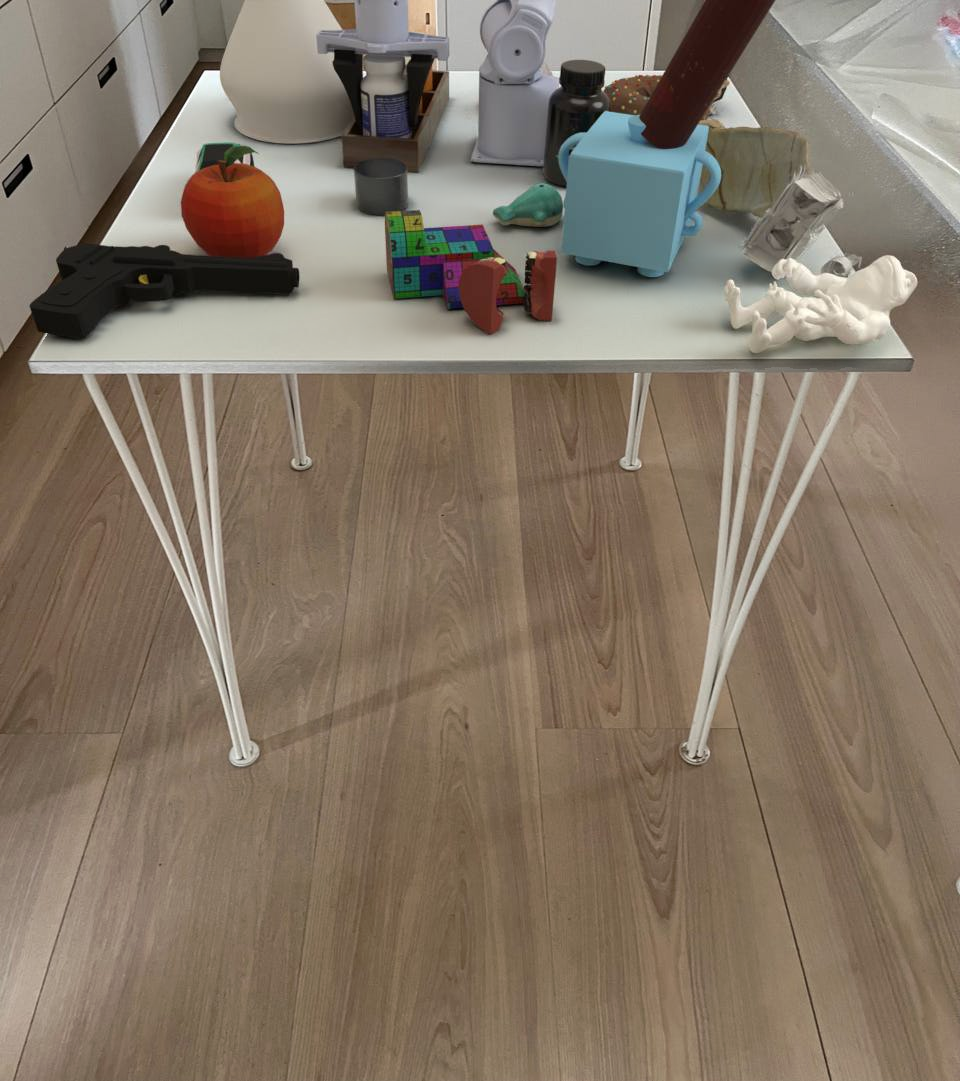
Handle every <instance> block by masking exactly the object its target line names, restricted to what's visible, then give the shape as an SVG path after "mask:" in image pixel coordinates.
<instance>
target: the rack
mask: <svg viewBox="0 0 960 1081" xmlns="http://www.w3.org/2000/svg"><path fill="white" fill-rule="evenodd" d="M432 88H433V91H423V93H422V114H421V113H419V114H418V122H417V124H416V127H412V139H411V138H395V137H380V136H364V135H363V122H362V124H358V123H356V121H355V116H354V117H353V118H352V120H351V121H350V123H349V125H348V126H347V128H346V129H345V131H344V133H343V134H342V135H341V136H340V137H341V147H342V148H341V150H342V160H343V168H347V169H348V168H350V169H354V167H355V165H356V164H358V163H359V162H361V161H364V160H368V159H373V158H389V159H395V160H398V161H401V162H403V163H404V164H405V165H406V166H407V173H409V172H410V173H419V172H420V170H421V167H422V164H423V162H424V160H425V158H426V155H427V153H428V150H429V148H430V146H431V143H432V142H433V139H434V137H435V134H436V132H437V129H438V127H439V125H440V122H441V120H442V117H443V115H444V113H445V111H446V108H447V106H448V103H449V102H450V71H449V70H446V71H445V70H433V69H432Z"/></svg>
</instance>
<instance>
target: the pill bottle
mask: <svg viewBox="0 0 960 1081" xmlns="http://www.w3.org/2000/svg"><path fill="white" fill-rule="evenodd" d="M405 68H406V66H405V57H403V56H386V55H368V54H364V55H363V71H365V73H366V74H365V76H363V79H362V81H361V84H360V92H361V107H362V122H363V135H364V136H380V137H395V138H411V139H412V127H409V89H408V79H407V77H406V76H404V75H403V72H404V70H405Z"/></svg>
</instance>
